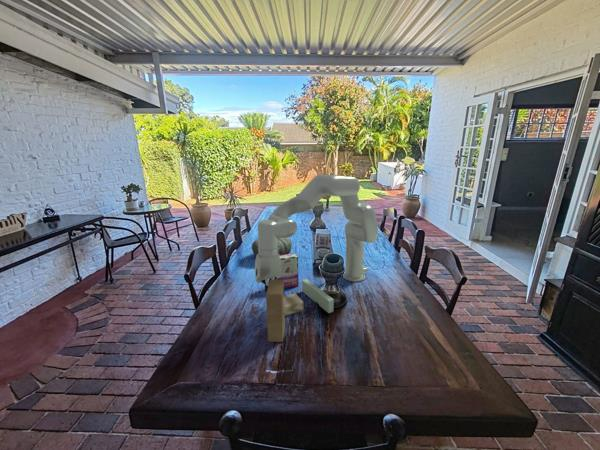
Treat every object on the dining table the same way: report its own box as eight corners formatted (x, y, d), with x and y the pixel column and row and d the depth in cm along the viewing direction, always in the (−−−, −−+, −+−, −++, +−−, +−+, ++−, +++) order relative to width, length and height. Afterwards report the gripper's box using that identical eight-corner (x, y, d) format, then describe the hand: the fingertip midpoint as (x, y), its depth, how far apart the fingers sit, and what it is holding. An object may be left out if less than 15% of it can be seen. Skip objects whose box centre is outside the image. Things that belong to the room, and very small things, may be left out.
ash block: (295, 301, 129) (295, 293, 128) (303, 310, 122) (303, 301, 121) (277, 306, 125) (277, 298, 124) (284, 316, 118) (284, 307, 117)
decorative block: (271, 323, 113) (269, 279, 108) (285, 324, 113) (284, 279, 107) (267, 342, 103) (265, 294, 97) (282, 342, 102) (281, 294, 97)
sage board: (306, 289, 139) (306, 278, 138) (333, 311, 121) (333, 299, 119) (302, 291, 138) (302, 280, 136) (328, 313, 120) (329, 301, 118)
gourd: (299, 258, 171) (293, 231, 167) (260, 271, 163) (253, 243, 159) (286, 248, 194) (281, 224, 190) (252, 259, 186) (245, 235, 182)
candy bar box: (296, 281, 147) (296, 252, 143) (298, 286, 143) (298, 256, 138) (275, 284, 145) (274, 255, 140) (277, 289, 140) (276, 259, 135)
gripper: (280, 245, 118) (280, 284, 123) (246, 251, 110) (248, 293, 115) (289, 250, 111) (289, 292, 116) (253, 257, 104) (255, 301, 109)
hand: (268, 292), depth 116 cm, fingers closed
